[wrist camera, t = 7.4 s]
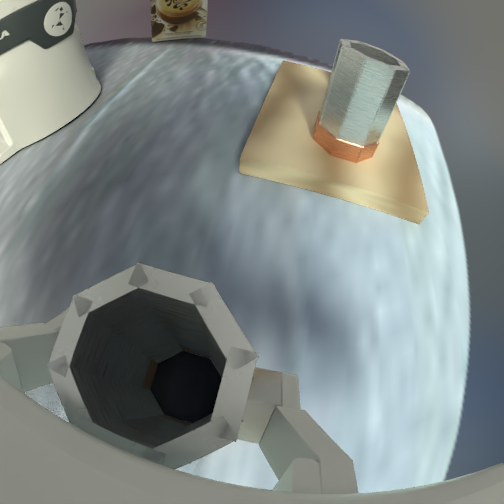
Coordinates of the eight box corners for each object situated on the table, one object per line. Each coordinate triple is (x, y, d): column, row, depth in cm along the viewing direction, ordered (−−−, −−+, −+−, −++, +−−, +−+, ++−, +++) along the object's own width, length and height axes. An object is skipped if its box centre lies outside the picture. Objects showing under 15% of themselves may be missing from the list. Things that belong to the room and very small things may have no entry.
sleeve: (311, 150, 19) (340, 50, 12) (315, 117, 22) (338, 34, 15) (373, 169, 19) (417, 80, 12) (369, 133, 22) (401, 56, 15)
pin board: (238, 173, 19) (245, 106, 15) (281, 70, 30) (287, 32, 25) (418, 224, 19) (457, 176, 14) (388, 102, 29) (403, 68, 24)
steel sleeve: (127, 415, 11) (29, 415, 4) (155, 327, 14) (94, 244, 7) (225, 446, 11) (227, 500, 4) (248, 353, 13) (277, 294, 6)
